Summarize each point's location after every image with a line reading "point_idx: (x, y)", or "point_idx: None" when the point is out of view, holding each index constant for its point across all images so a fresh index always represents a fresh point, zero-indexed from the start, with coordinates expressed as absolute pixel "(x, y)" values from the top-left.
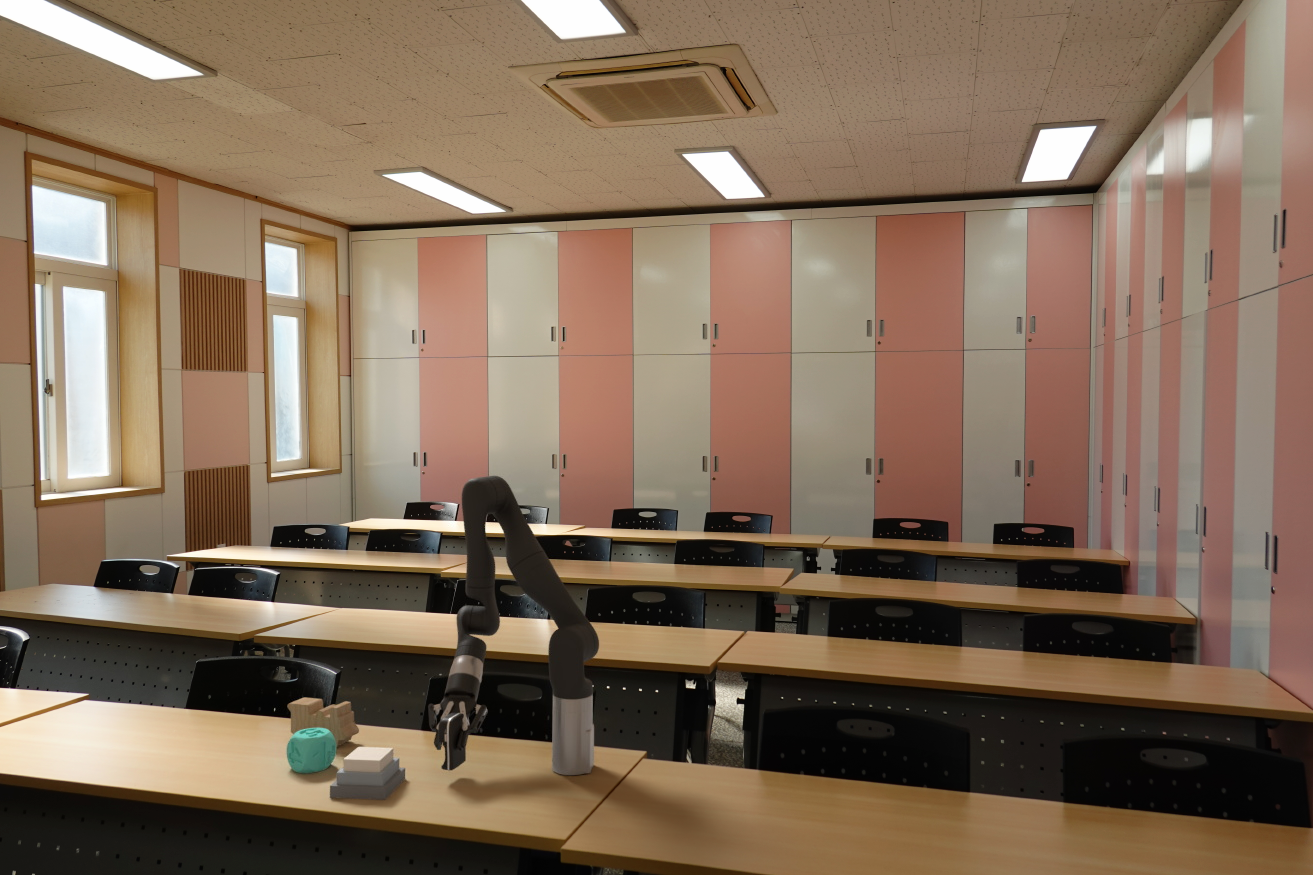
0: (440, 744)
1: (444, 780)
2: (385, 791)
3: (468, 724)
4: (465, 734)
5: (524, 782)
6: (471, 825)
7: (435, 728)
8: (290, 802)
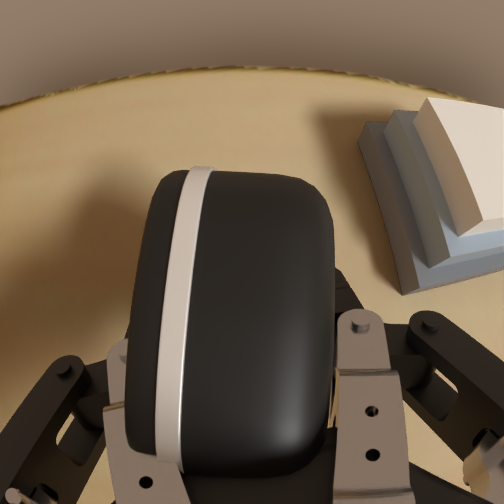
0: None
1: None
2: (364, 131)
3: None
4: None
5: (24, 347)
6: (100, 90)
7: (388, 329)
8: None
